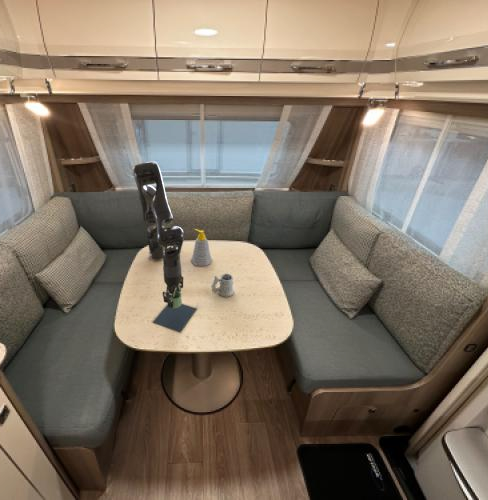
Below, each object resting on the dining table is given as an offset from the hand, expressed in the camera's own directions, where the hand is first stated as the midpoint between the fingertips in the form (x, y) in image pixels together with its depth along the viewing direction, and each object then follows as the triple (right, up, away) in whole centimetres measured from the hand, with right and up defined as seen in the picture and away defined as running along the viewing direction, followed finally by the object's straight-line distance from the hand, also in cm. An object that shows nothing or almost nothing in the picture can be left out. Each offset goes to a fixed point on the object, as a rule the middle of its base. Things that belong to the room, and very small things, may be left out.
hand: (174, 302), depth 120 cm
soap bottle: (+12, +17, +45) cm, 49 cm away
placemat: (0, -7, +4) cm, 8 cm away
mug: (+23, +1, +18) cm, 29 cm away
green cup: (0, -1, +1) cm, 1 cm away
